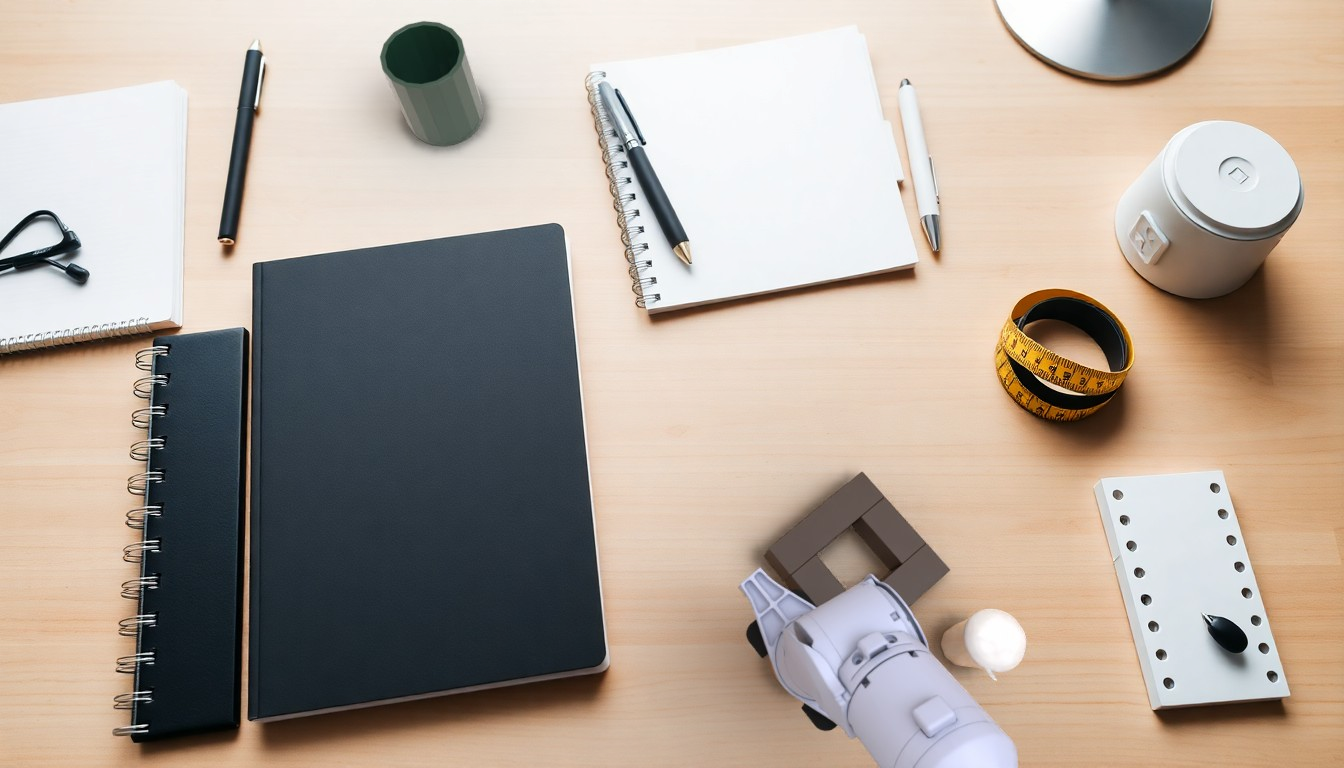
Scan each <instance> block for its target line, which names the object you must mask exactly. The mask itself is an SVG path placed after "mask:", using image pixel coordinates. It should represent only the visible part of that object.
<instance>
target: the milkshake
mask: <svg viewBox="0 0 1344 768" xmlns="http://www.w3.org/2000/svg"><path fill="white" fill-rule="evenodd" d="M940 646H941V650H942V652H943V655H944V657H945V658H946V659H947V660H948V661H950V662H951V663H952V664H953V665H954V666H959V667H960V666H961V667H967V668H968V667H969V668H975V669H980V670H985V671H986V672H987V674H988V676H989V678H990V679H991V680H994V681H996V682H998V679H997V677H996V675H995V674H994V672H995V673H1004V672H1009V671H1011V670H1013V669H1015V667H1017V666H1018V665H1019V664H1021V662H1022V660H1023V658H1024V656H1025V652H1026V649H1027V636H1026V633H1025V631H1024V629H1023V627H1022V625H1020V623H1019V622H1018V621H1017V619H1016V618H1015V617H1014V616H1013V615H1012V614H1010V613H1008V612H1006V611H1004V610H1001V609H999V608H985V609H981V610H977V611H976V612H974V613H973V614H972V615H970V616H969V617H967V618H966V619H964V620H962V621H959V622H958V623H956V624H954V625H953V626H951V627H949V628H948V629H947V630H945V631H943V634H942V638H941V642H940Z"/></svg>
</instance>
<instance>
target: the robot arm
mask: <svg viewBox="0 0 1344 768" xmlns="http://www.w3.org/2000/svg"><path fill="white" fill-rule="evenodd" d="M879 580H880V579H878V578H877V577H876V576H875V575H874V574H872V573H868V574H867V575H866V576H865V577H864V578H863V580H862V581H860V582H859V583H856V584H854V586H852V587H850V588H848V589H846V591H845V592H843V593H841V594H840V595H838V596H836V597H834V598H833V599H831V600H829V601H827V602H826V603H824V604H822V605H820V606H819V607H817V606H816V604H815V603H814V602H813V601H812V600H811V598H810V597H809V596H808V595H807V594H806V593H805V592H804V591H802V590H799V589H794V590H791V589H788V588H785V587H784V586H783V585H781V584H779V583H778V582H776V581H775V580H774V579H773V578H771V577H770V576H769V575H768V574H767V573H766V572H765V571H764V570H763V569H762V567H758V568H757V569H756V570H755V571H753V572H752V573H751V574H749V575H748V577H746V578H744V580H742V581H741V582H740V583H739V585H738V586H737V588H738V590H739V591H740V592H741V594H742V595H743V596H744V597H745V598H747V601H748V602H749V604H750V607H751V609H752V612H753V615H754V618H755V619H754V620H753V621H752V622H750V624H749V625H748V626H747V629H746V631H745V636H746V639H747V641H748V643H749V644H750V646H752V649H754V650H755V652H756V653H757V654H758V656H759V657H760V658H761V659H765V657H767V656H768V657H769V661H770V660H771V663H772V666H773V669H774V671H775V674H776V676H777V678H778V680H779V681H778V680H777V681H778V682H779V683H780V685H781V686H782V688H784V690H786V692H787V693H788V694H790V695H791V696H793V698H795V699H797V700H798V701H800V702H801V703H803V704H802V705H801V707H800V709H801V710H802V711H803V713H804V714H805V716H806V717H807V718H808V719H809V720H810V722H811V723H812V724H813V725H814V727H815V728H816V729H818V730H819V731H822V732H830V731H832V730H834V729H836V728H837V727H839V728H841V730H843V731H844V734H845V735H846V736H847V737H848V738H849V739H850V740H853V739H855V738H857V739H858V740H859V742H860V743H861V744H862V745H863V747H864V749H866V751H867V752H868V754H869V755H870V756H871V758H872V759H873V761H874V762H875V764H876V765H877V767H879V768H1019V756H1018V750H1017V746H1016V744H1015V743H1014V741H1013V740H1012V738H1011V737H1010V736H1009V735H1008V734H1007V733H1006V732H1005V731H1004V730H1003V729H1002V728H1001V726H1000V725H999V724H998V723H997V722H996V721H995V719H994V718H992V716H991V715H989V713H988V712H987V711H986V710H985V709H984V708H983V707H982V706H981V705H980V704H979V703H978V702H977V700H976V699H975V698H974V697H973V696H972V695H971V694H970V693H969V692H968V691H967V689H966V688H964V686H963V685H961V683H960V682H959V681H958V680H957V679H956V678H955V676H953V674H951V673H950V671H949V670H948V669H947V668H946V666H945V665H943V664H942V663H941V661H940V660H938V658H936V656H935V655H934V654H933V653H932V652H931V651H930V648H929V644H928V640H927V637H926V635H925V633H924V631H923V629H922V627H921V625H920V623H919V621H918V620H917V618H916V617H915V616H914V613H913V611H912V610H911V609H910V606H909V607H908V606H907V605H906V603H905V602H904V601H903V599H902V598H901V597H900V596H899V595H898V594H897V592H896V591H895V590H894V589H892V588H891V587H890V586H889V585H888V584H886V583H884V582H880V581H879Z"/></svg>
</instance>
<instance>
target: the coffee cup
mask: <svg viewBox="0 0 1344 768" xmlns="http://www.w3.org/2000/svg"><path fill="white" fill-rule="evenodd" d="M379 60H380V65H381V68H382V72H383V74H384V76H385V78H386V80H387V83H388V84H389V87H390V89H391V91H392V94H393V96H394V98H395V100H396V102H397V104H398V106H399V108H400V110H401V113H402V115H403V116H404V119H405V122H406V124H407V126H408V127H409V128H410V130H411V132H412V133H413V135H414V136H415V137H416V138H418V139H419V140H420V141H422V142H424V143H426V144H428V145H432V146H438V147H448V146H453V145H457V144H459V143H463V142H464V141H466V140H467V139H469V138H470V137H472V136H473V135H474V134H475V133H476V132H477V131H478V129H479V128H480V127H481V124H482V122H483V119H484V105H483V102H482V99H481V95H480V91H479V88H478V86H477V83H476V79H475V76H474V73H473V70H472V65H471V64H470V60H469V57H468V55H467V52H466V48H465V44H464V42H463V38H461V36H459V34H458V33H457V32H456V30H454V29H453V28H452V27H449V26H448V25H446V24H443V23H441V22H440V21H439V22H438V21H427V20H421V21H417V22H413V23H412V22H411V23H408V24H405V25H404V26H402V27H400V28H399V29H397V30H395V31H394V32H392V33H391V34H390V36H389V37H388V38H387V39H386V41H385V42H384V43H383V45H382V49H381V51H380V56H379Z"/></svg>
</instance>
